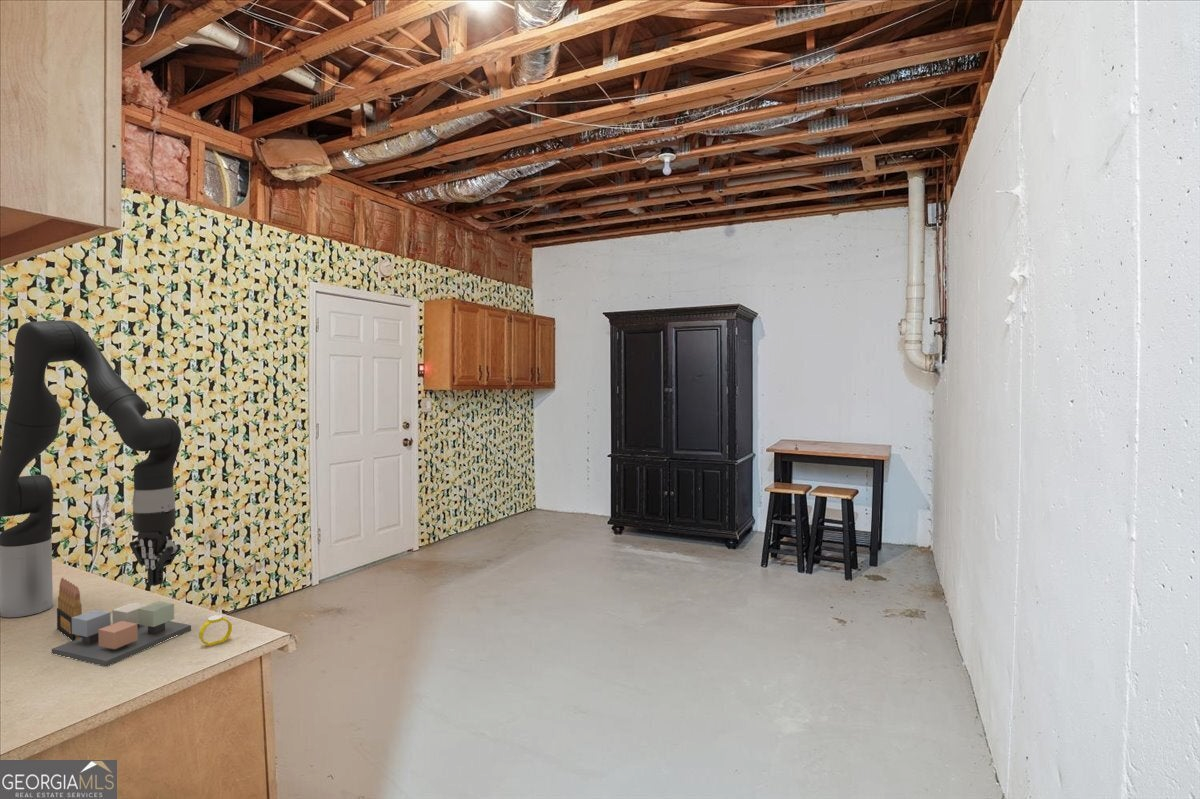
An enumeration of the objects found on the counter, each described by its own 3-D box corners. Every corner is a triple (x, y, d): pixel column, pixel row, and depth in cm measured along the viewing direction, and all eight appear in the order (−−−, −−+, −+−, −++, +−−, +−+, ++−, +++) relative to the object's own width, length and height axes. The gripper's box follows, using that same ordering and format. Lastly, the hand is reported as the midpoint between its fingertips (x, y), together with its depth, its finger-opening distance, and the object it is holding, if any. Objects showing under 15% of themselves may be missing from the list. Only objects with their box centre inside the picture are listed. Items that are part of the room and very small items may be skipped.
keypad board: (51, 654, 124) (51, 636, 124) (140, 620, 141) (140, 604, 141) (106, 666, 119) (106, 647, 119) (191, 630, 136) (191, 613, 136)
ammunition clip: (84, 638, 131) (83, 585, 130) (73, 641, 129) (72, 588, 129) (67, 626, 137) (66, 575, 136) (56, 629, 135) (55, 578, 135)
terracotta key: (98, 645, 123) (98, 629, 123) (122, 636, 128) (121, 620, 128) (114, 649, 122) (114, 632, 122) (137, 639, 126) (137, 623, 126)
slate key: (71, 633, 126) (71, 617, 125) (95, 625, 130) (95, 609, 130) (87, 636, 124) (86, 620, 124) (110, 628, 129) (110, 612, 129)
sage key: (138, 624, 131) (138, 608, 131) (159, 616, 135) (158, 601, 135) (153, 627, 130) (153, 611, 129) (174, 618, 134) (173, 603, 134)
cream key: (112, 625, 133) (112, 609, 133) (133, 617, 138) (133, 602, 138) (127, 628, 132) (127, 612, 132) (148, 619, 136) (148, 605, 136)
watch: (203, 651, 127) (200, 624, 127) (199, 646, 129) (196, 620, 128) (234, 639, 132) (231, 614, 131) (229, 636, 134) (227, 610, 133)
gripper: (114, 509, 130) (116, 586, 130) (159, 513, 126) (160, 594, 126) (149, 502, 137) (151, 575, 137) (192, 506, 133) (193, 582, 134)
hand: (155, 584), depth 132 cm, fingers closed
